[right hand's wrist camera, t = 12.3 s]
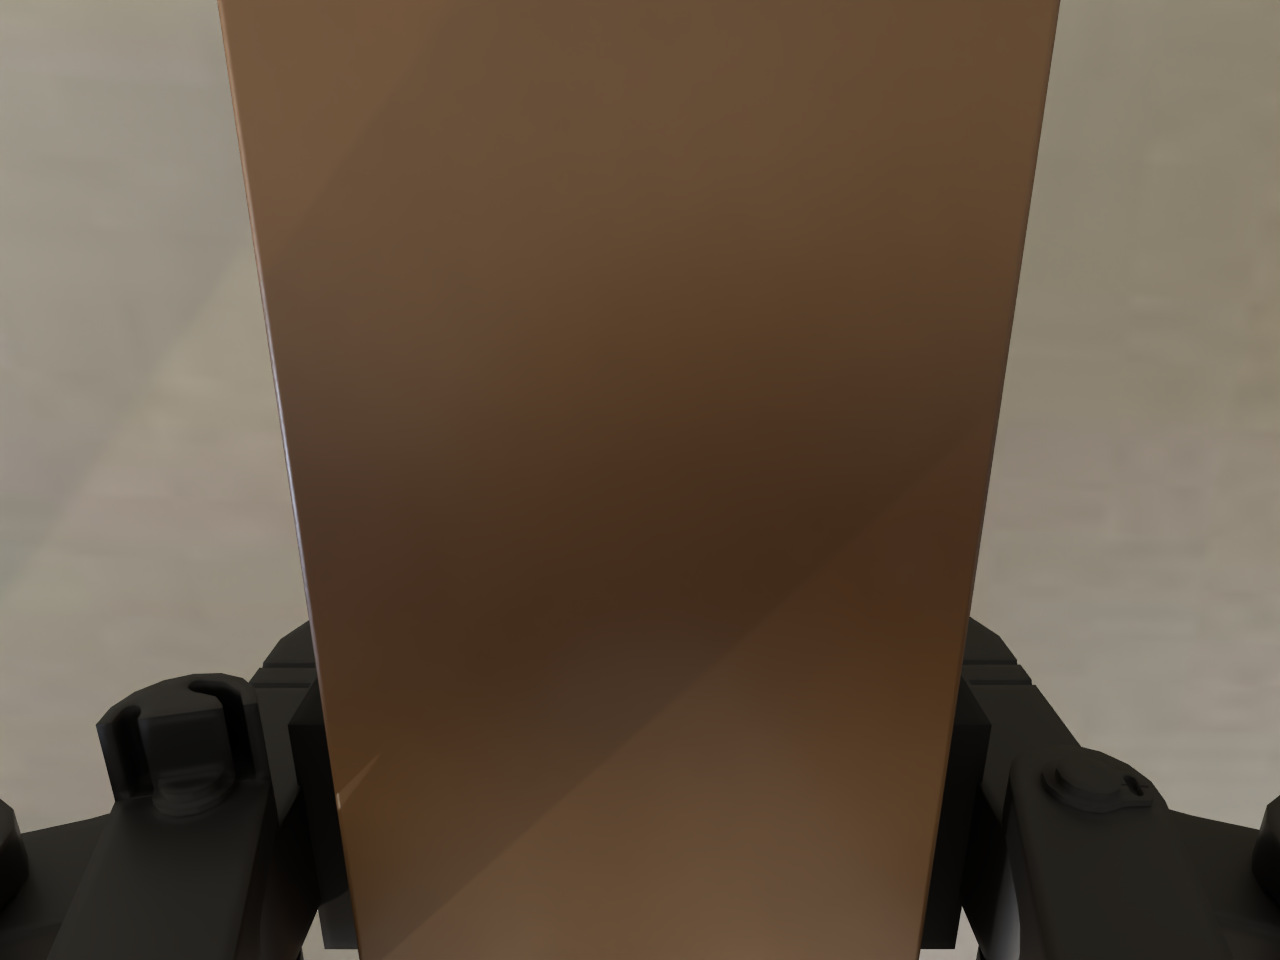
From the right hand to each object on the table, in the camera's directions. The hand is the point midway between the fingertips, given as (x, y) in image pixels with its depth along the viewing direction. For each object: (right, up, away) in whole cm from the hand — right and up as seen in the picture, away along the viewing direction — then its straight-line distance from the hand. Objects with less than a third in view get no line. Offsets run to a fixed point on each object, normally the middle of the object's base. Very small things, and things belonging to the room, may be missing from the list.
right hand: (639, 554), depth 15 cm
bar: (0, +9, -3) cm, 9 cm away
